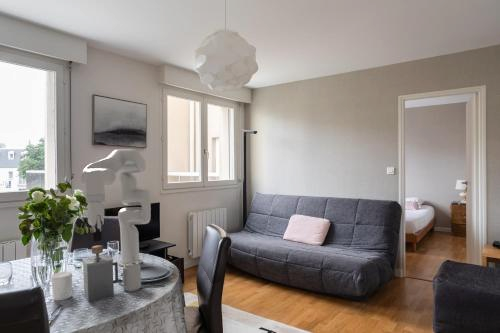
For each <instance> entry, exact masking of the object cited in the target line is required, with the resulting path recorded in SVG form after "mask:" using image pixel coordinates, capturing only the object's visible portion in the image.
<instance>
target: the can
mask: <svg viewBox="0 0 500 333" xmlns="http://www.w3.org/2000/svg"><path fill="white" fill-rule="evenodd" d="M141 272H142V271H141V263H140V264H139V262H137V261H131V262H127V263H125V264H124V266H122V278H123V290H125V292H136V291H138V290H140V289H141V287H142V273H141Z"/></svg>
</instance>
